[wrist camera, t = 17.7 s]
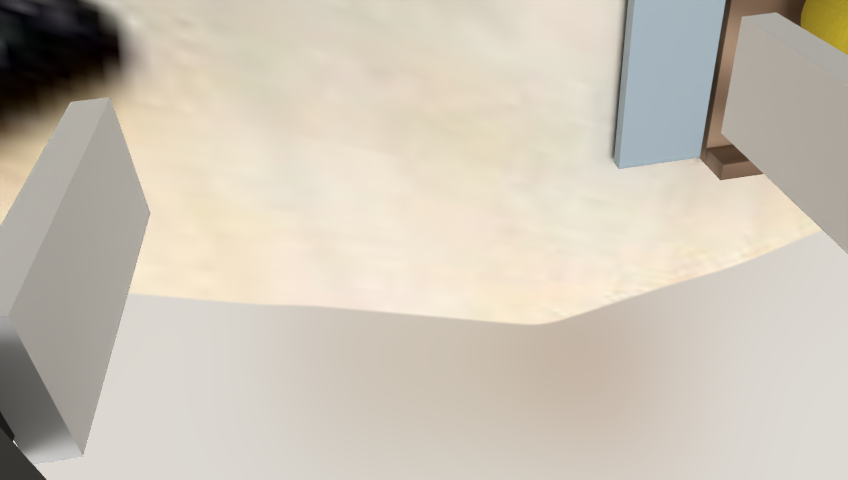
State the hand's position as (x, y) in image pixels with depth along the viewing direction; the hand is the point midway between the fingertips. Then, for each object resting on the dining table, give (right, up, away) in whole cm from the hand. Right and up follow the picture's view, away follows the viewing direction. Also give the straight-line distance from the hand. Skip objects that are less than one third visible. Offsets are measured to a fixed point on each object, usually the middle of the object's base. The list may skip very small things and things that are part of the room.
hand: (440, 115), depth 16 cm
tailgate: (+19, +12, +31) cm, 38 cm away
